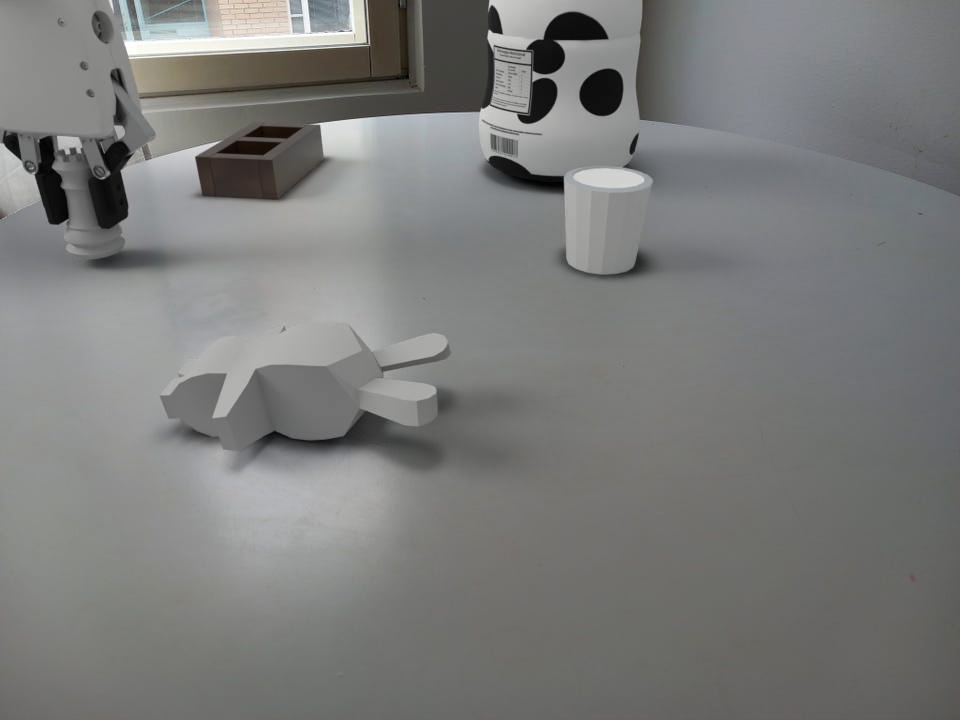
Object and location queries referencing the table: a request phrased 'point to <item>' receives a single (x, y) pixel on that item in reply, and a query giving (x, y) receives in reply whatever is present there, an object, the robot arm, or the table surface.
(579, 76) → the milk container
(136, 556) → the table surface
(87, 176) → the rook chess piece
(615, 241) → the shot glass
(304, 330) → the bunny figurine
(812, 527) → the table surface
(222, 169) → the rack
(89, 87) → the robot arm
